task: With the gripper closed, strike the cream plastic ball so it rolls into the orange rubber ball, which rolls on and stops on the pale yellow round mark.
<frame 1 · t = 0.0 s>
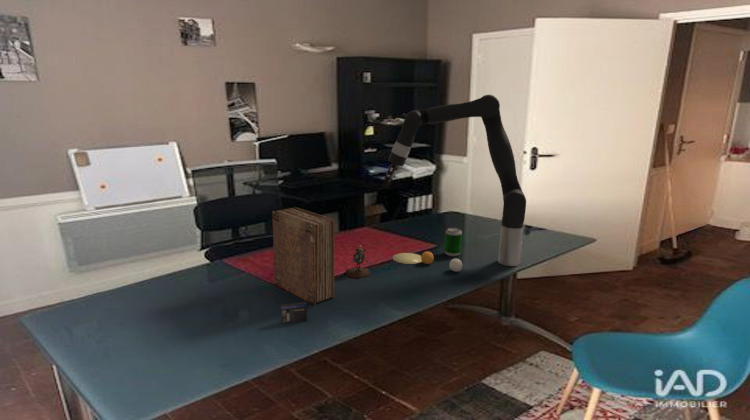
hand: (385, 186, 221), 31 cm above the table, tool tilted 20°, fingers open, 8 cm apart
mini dv tape: (294, 321, 161), on the table
book: (303, 291, 184), on the table
cue ball: (455, 265, 206), on the table
robot figurine: (357, 274, 202), on the table
soda can: (452, 254, 228), on the table
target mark: (407, 258, 221), on the table
orange ball: (427, 257, 214), on the table
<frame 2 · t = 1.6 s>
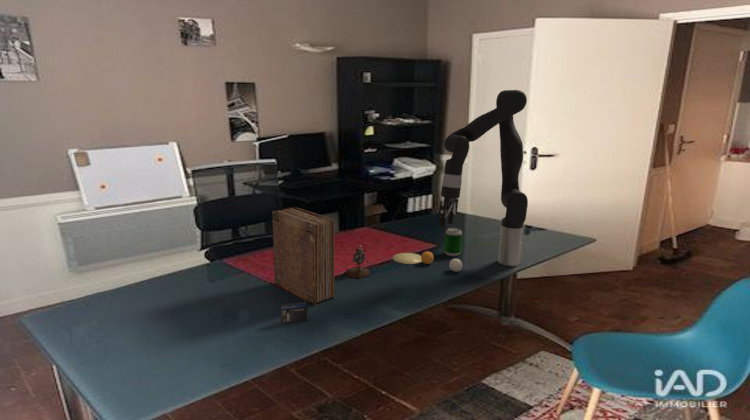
hand: (446, 225, 197), 21 cm above the table, tool pointing down, fingers open, 8 cm apart
nothing on the table moved.
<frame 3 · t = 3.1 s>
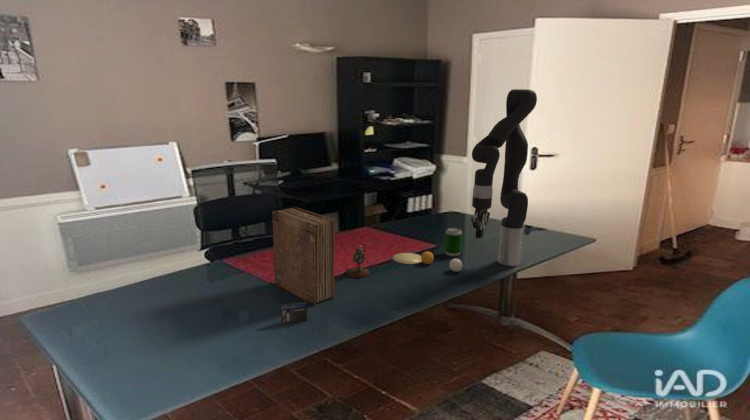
hand: (479, 237, 197), 17 cm above the table, tool pointing down, fingers closed
nothing on the table moved.
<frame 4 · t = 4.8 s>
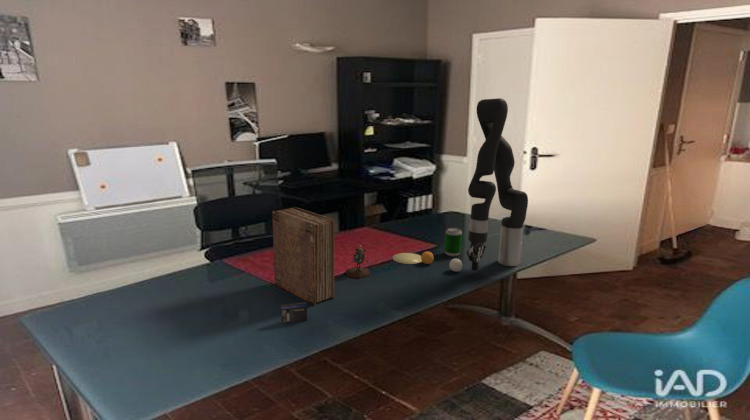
hand: (474, 269, 201), 3 cm above the table, tool pointing down, fingers closed
nothing on the table moved.
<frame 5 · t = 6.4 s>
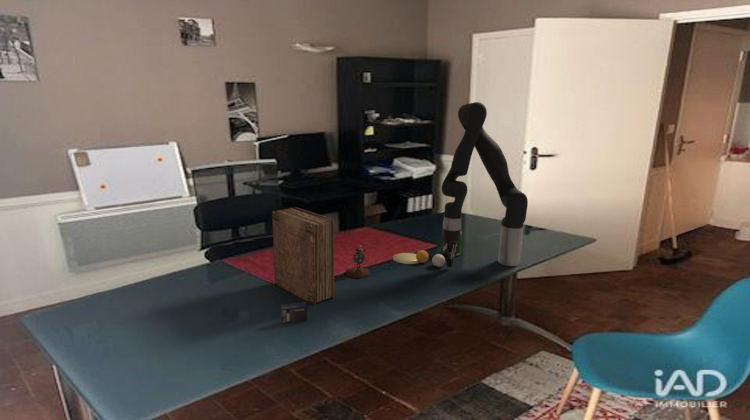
hand: (449, 266, 208), 2 cm above the table, tool pointing down, fingers closed
cue ball: (438, 260, 211), on the table
orange ball: (422, 256, 216), on the table
everything else where it was.
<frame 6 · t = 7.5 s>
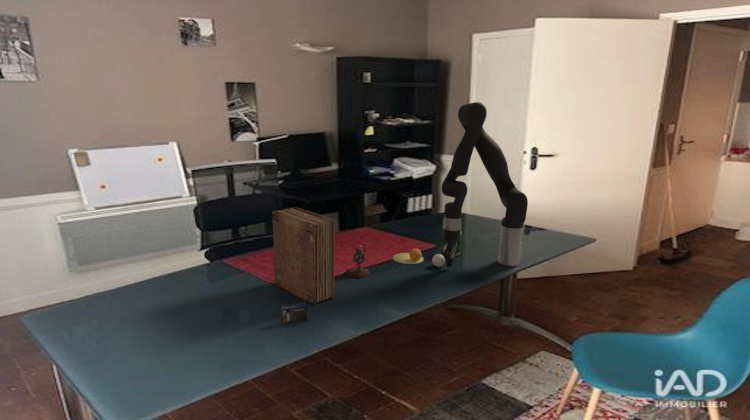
hand: (449, 266, 208), 2 cm above the table, tool pointing down, fingers closed
orange ball: (415, 254, 218), on the table
everything else where it was.
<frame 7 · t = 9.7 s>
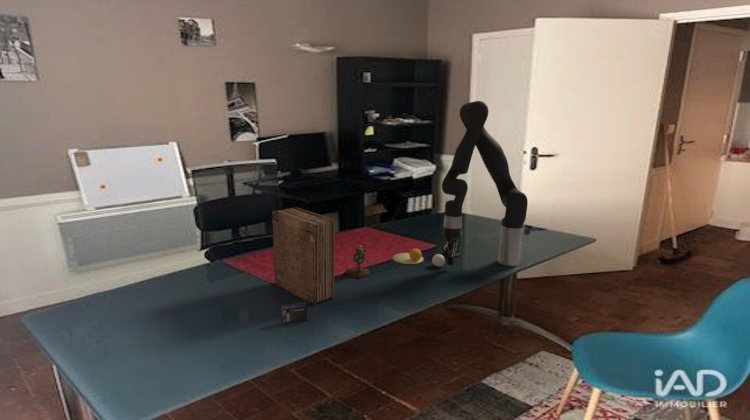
hand: (450, 264, 208), 2 cm above the table, tool pointing down, fingers closed
nothing on the table moved.
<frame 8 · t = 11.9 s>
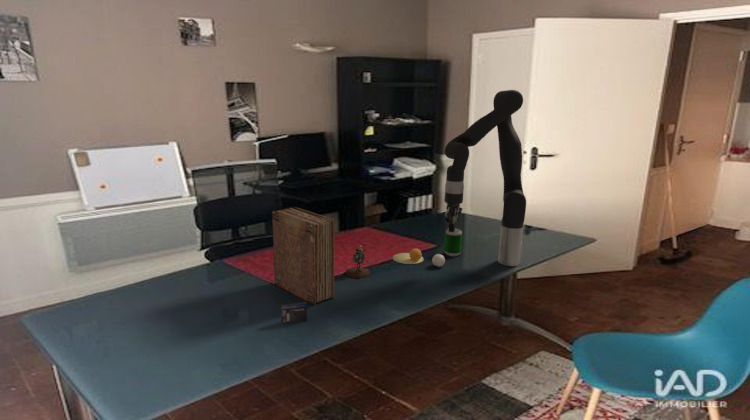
hand: (451, 231, 204), 17 cm above the table, tool pointing down, fingers closed
nothing on the table moved.
at the end: orange ball 3.9 cm from the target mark (horizontally); orange ball never touched the robot; cue ball first touched orange ball at 6.1 s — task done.
